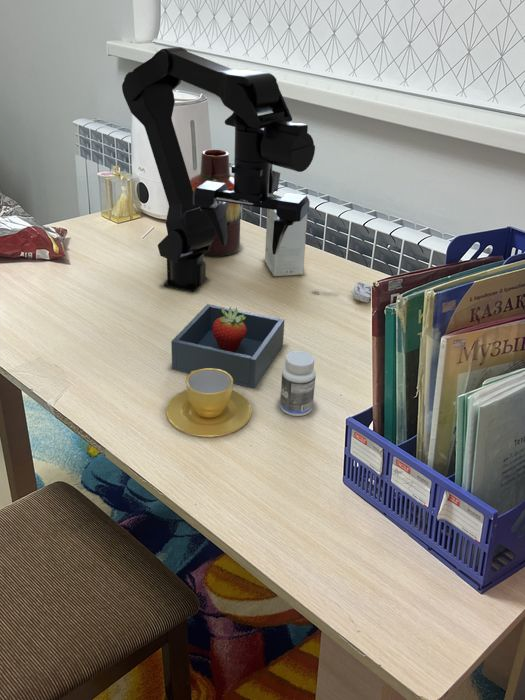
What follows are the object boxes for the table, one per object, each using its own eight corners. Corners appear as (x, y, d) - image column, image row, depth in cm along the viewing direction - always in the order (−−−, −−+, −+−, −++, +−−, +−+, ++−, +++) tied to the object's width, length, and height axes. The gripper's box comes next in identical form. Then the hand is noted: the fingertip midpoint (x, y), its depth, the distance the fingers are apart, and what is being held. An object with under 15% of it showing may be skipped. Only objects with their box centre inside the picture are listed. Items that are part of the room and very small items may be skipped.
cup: (267, 422, 96) (269, 390, 93) (190, 449, 90) (189, 415, 88) (225, 380, 105) (225, 350, 102) (152, 402, 99) (150, 370, 96)
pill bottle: (278, 398, 101) (281, 348, 97) (309, 397, 102) (314, 348, 97) (281, 417, 97) (284, 366, 93) (314, 416, 98) (319, 366, 93)
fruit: (247, 361, 109) (249, 316, 105) (213, 363, 108) (214, 317, 104) (243, 345, 113) (244, 301, 109) (210, 346, 112) (211, 302, 108)
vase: (247, 243, 152) (250, 150, 142) (227, 260, 143) (228, 163, 133) (202, 234, 155) (202, 143, 145) (180, 251, 147) (178, 155, 136)
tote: (171, 369, 107) (171, 341, 104) (207, 329, 118) (207, 303, 115) (254, 388, 103) (255, 360, 101) (282, 346, 114) (284, 319, 112)
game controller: (381, 303, 129) (383, 291, 128) (322, 306, 127) (323, 294, 126) (372, 290, 134) (374, 278, 133) (314, 293, 132) (315, 280, 131)
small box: (303, 275, 139) (308, 212, 132) (272, 276, 138) (276, 214, 131) (293, 259, 146) (297, 199, 139) (264, 260, 144) (266, 200, 138)
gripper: (322, 153, 114) (314, 241, 122) (217, 139, 119) (217, 225, 127) (302, 170, 105) (296, 265, 113) (190, 154, 110) (191, 246, 118)
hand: (249, 249), depth 118 cm, fingers open, 9 cm apart
